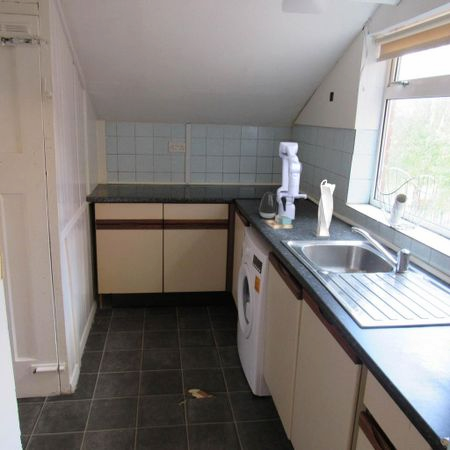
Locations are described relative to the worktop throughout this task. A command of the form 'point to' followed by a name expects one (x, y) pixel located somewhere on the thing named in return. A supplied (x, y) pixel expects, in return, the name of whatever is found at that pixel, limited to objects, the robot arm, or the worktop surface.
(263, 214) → the dark egg-shaped dome
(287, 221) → the stub
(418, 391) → the worktop surface
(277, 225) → the board
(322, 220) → the skyscraper
